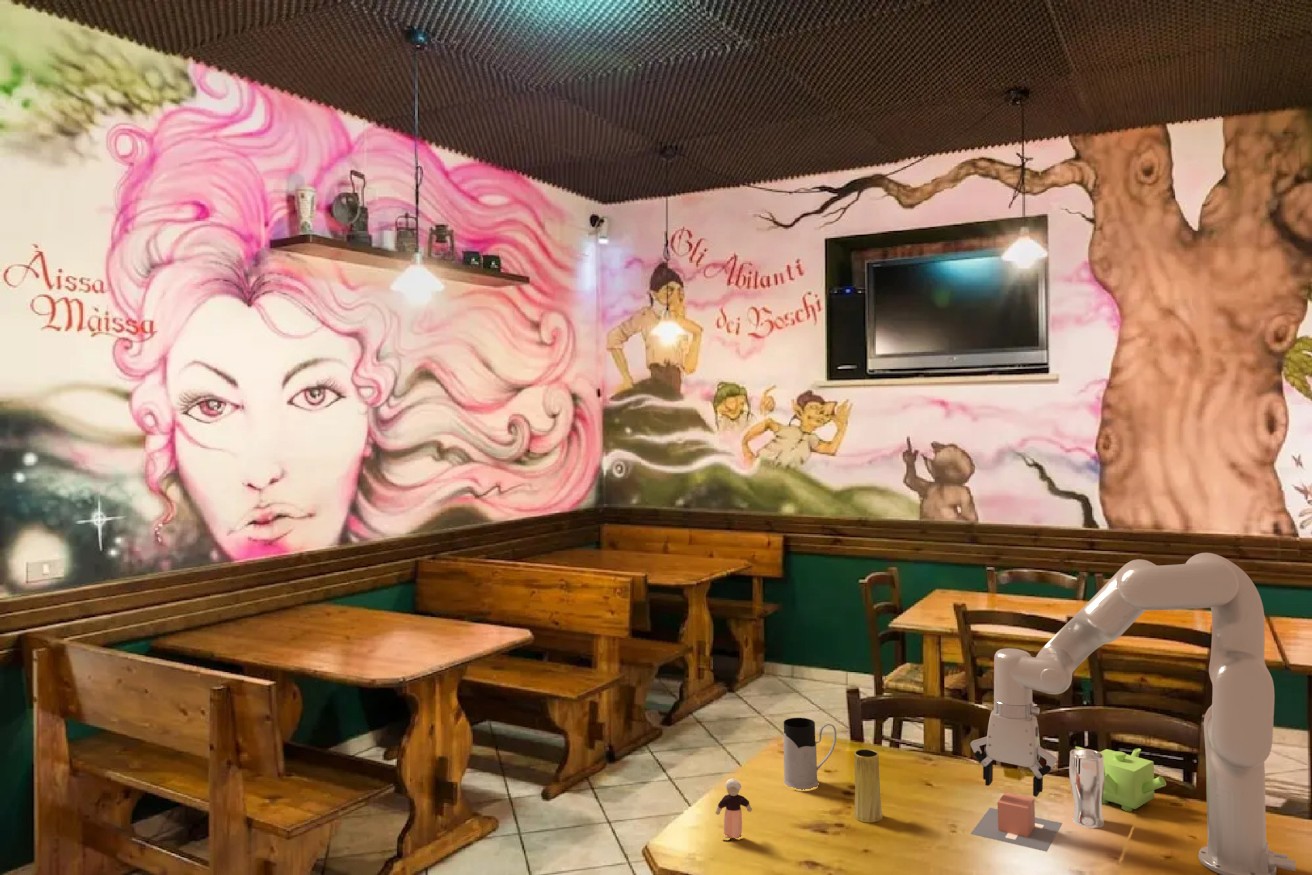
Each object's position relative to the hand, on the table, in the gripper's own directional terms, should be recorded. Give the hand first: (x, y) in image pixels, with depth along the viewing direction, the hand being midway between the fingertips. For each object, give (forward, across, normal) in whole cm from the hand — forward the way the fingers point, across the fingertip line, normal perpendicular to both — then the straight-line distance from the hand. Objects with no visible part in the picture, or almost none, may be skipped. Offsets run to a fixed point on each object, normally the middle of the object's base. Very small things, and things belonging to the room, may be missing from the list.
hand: (1012, 788), depth 192 cm
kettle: (+8, -17, -27) cm, 33 cm away
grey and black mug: (+10, +47, -1) cm, 48 cm away
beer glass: (+8, -13, -11) cm, 19 cm away
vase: (+10, +28, +10) cm, 31 cm away
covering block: (+8, -1, 0) cm, 8 cm away
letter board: (+9, -1, 0) cm, 9 cm away
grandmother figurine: (+10, +48, +34) cm, 60 cm away
